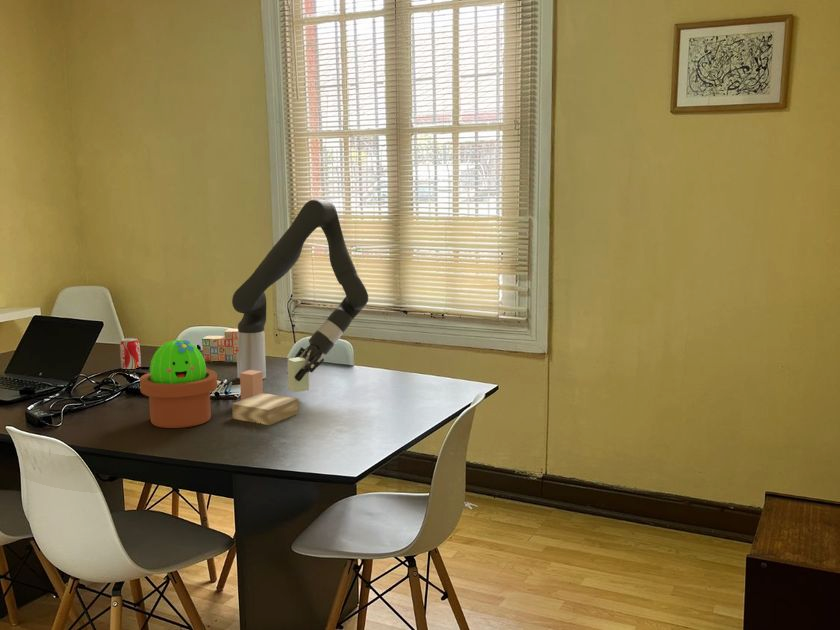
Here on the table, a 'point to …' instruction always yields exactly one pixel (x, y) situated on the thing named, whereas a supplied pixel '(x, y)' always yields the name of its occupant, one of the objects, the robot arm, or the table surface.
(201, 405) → the potted cactus
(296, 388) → the sage-green block
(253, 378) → the clay-red block
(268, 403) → the birch plinth block
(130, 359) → the soda can
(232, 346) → the stack of blocks
